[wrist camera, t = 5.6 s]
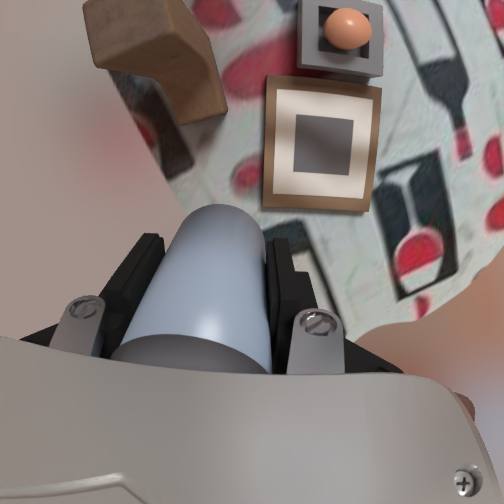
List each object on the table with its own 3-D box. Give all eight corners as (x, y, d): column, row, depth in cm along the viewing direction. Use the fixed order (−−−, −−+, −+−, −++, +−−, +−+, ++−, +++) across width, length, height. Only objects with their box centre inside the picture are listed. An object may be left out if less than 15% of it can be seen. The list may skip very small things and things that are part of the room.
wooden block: (229, 112, 29) (198, 120, 13) (187, 124, 29) (114, 149, 13) (208, 35, 25) (157, -34, 9) (167, 48, 25) (78, 3, 9)
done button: (322, 11, 21) (328, 4, 19) (362, 18, 21) (371, 12, 19) (322, 47, 23) (328, 42, 21) (362, 54, 23) (371, 50, 21)
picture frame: (266, 75, 27) (267, 74, 26) (378, 88, 27) (382, 88, 26) (262, 203, 33) (262, 207, 32) (365, 208, 34) (369, 212, 32)
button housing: (297, 1, 23) (302, -10, 20) (370, 13, 23) (382, 5, 20) (296, 68, 27) (301, 63, 24) (370, 78, 27) (382, 76, 24)
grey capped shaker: (171, 200, 13) (46, 394, 4) (269, 203, 13) (297, 428, 4) (178, 283, 15) (115, 479, 6) (264, 287, 15) (271, 498, 6)
